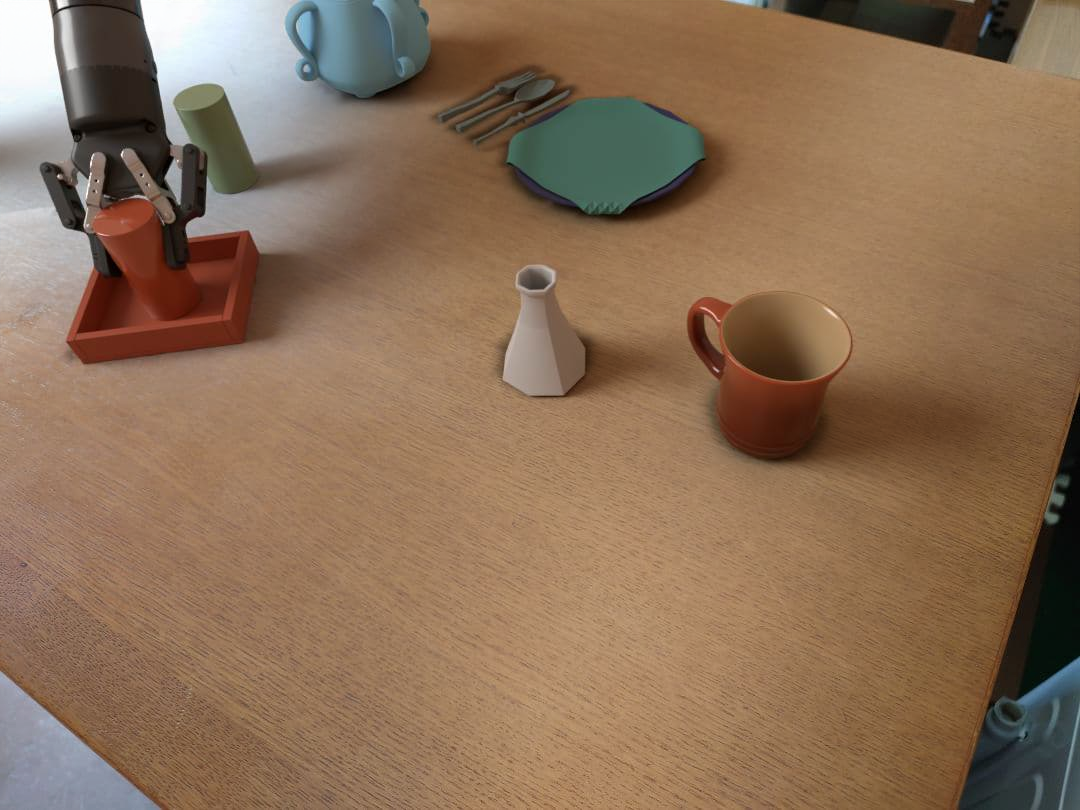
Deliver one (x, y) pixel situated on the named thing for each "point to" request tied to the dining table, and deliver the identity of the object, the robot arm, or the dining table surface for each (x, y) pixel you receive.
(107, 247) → the terracotta canister
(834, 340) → the mug
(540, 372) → the flask
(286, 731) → the dining table surface
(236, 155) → the sage canister
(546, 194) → the cutlery set
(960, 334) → the dining table surface
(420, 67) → the decorative pot
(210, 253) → the terracotta tray
